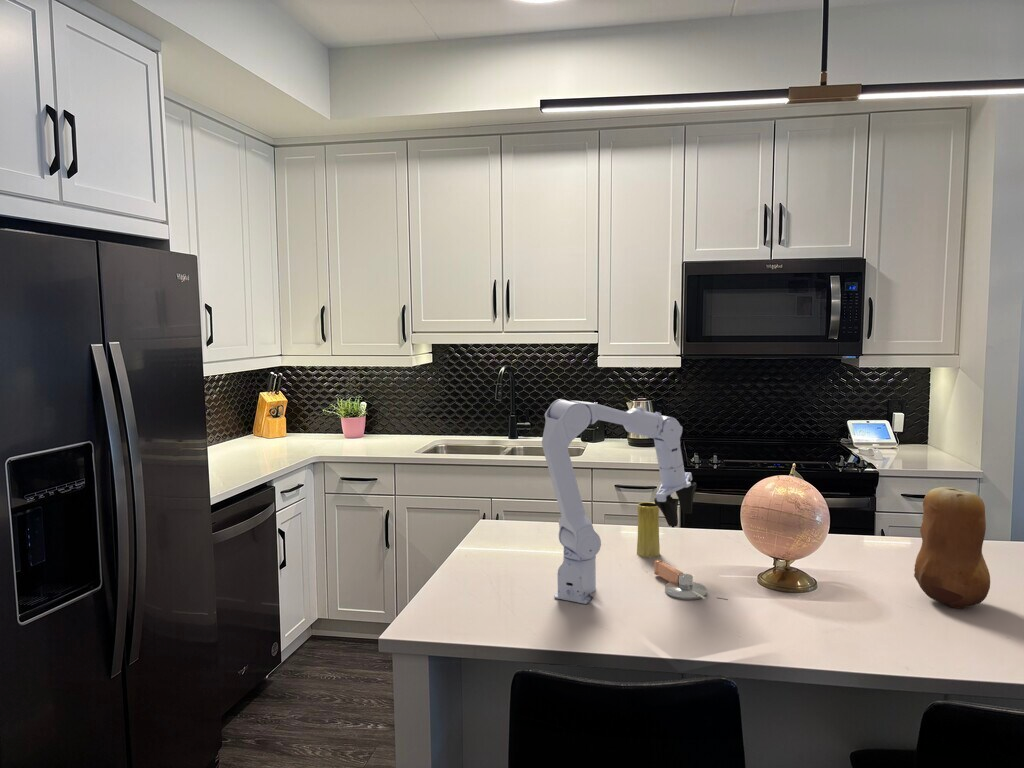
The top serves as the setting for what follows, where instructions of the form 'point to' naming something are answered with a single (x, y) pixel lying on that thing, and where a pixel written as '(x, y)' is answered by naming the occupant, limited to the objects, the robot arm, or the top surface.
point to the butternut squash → (953, 548)
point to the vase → (648, 530)
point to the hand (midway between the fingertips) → (680, 519)
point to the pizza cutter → (679, 583)
